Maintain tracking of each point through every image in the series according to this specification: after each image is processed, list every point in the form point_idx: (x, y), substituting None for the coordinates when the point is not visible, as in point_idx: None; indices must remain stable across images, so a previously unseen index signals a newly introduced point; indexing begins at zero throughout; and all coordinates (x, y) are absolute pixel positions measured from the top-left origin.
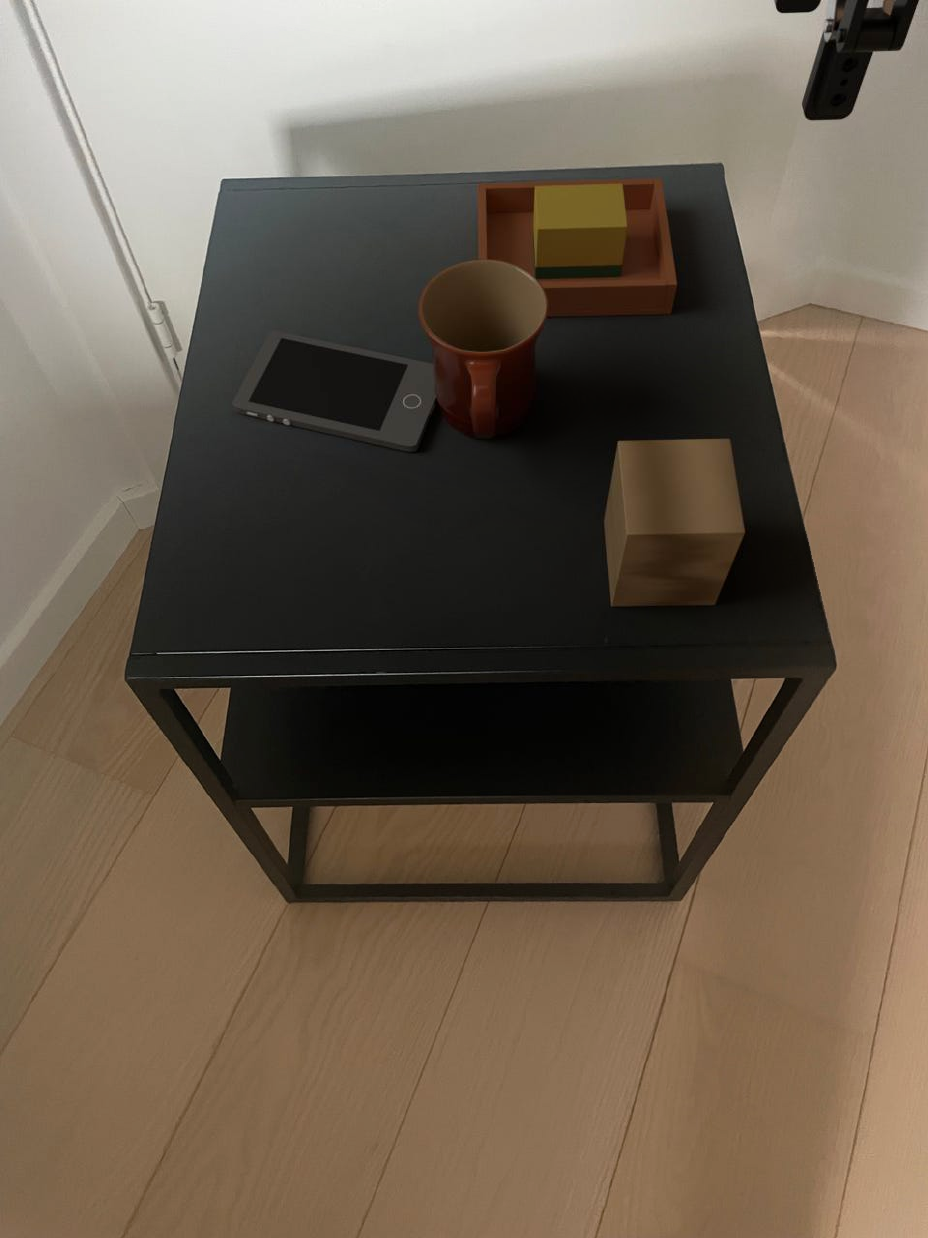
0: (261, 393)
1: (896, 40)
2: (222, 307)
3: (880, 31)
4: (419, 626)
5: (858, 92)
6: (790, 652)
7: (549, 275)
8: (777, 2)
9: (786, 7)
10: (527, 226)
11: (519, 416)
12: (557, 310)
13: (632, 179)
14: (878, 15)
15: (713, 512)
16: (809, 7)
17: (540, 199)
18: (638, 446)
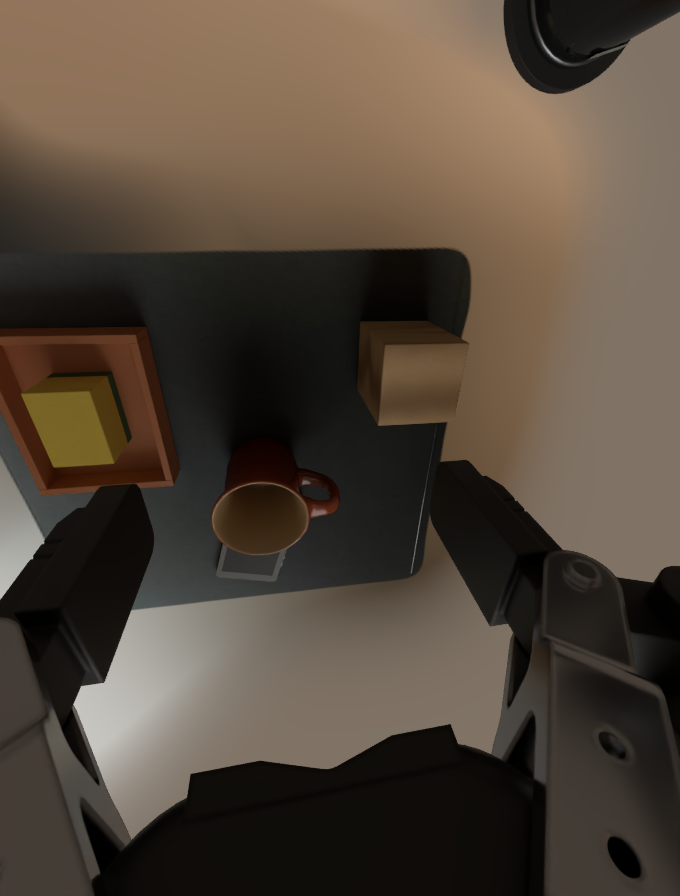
0: (265, 571)
1: None
2: (195, 597)
3: None
4: (414, 481)
5: (486, 481)
6: (469, 271)
7: (128, 429)
8: (150, 554)
9: (149, 532)
10: None
11: (286, 449)
12: (166, 421)
13: None
14: (675, 658)
15: (449, 364)
16: (138, 496)
17: (72, 462)
18: (385, 412)
